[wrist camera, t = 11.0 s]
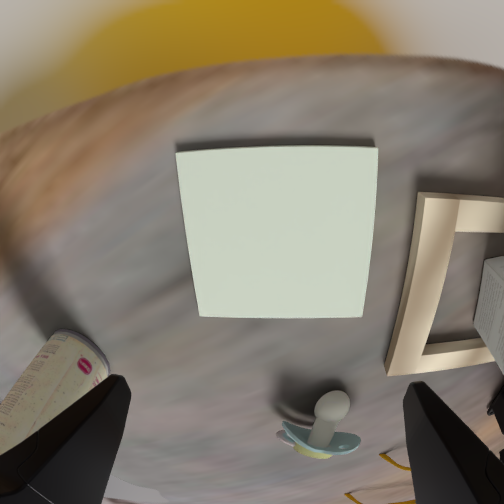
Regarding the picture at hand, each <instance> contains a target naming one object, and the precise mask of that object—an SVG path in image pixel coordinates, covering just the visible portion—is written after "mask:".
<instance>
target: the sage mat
mask: <svg viewBox="0 0 504 504" xmlns="http://www.w3.org/2000/svg"><path fill="white" fill-rule="evenodd" d="M176 161H177V170H178V178H179V186H180V194H181V201H182V209H183V216H184V223H185V230H186V236H187V243H188V250H189V256H190V262H191V268H192V274H193V280H194V286H195V292H196V297H197V303H198V309H199V314H200V316H205V317H237V318H340V317H362V314H363V308H364V301H365V295H366V288H367V281H368V273H369V265H370V257H371V248H372V238H373V228H374V217H375V204H376V188H377V168H378V148H377V147H367V146H334V145H286V146H253V147H233V148H217V149H203V150H191V151H181V152H177V153H176Z"/></svg>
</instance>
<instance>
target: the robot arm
mask: <svg viewBox="0 0 504 504" xmlns="http://www.w3.org/2000/svg"><path fill="white" fill-rule="evenodd" d="M130 400H131V391H130V388H129V386H128V384H127V382H126V380H125V378H124V377H123V376H122V375H116V374H111V375H109V376H108V377H107V378H105V379H104V380H103V381H102V382H100V383H99V384H98V385H96V386H95V387H94V388H92V389H91V390H90V391H89V392H87V393H86V394H85V395H83V396H82V397H81V398H79V399H78V400H77V401H75V402H74V403H73V404H71V405H70V406H69V407H68V408H66V409H65V410H64V411H62V412H61V413H60V414H58V415H57V416H56V417H54V418H53V419H52V420H50V421H49V422H48V423H46V424H45V425H44V426H42V427H41V428H40V429H39V430H38V431H36V432H34V433H33V434H32V435H30V436H29V437H28V438H26V439H25V440H23V441H22V442H21V443H19V444H17V445H16V446H14V447H13V448H11V449H9V450H8V451H6V452H4V453H3V454H1V455H0V504H101V503H102V499H103V496H104V493H105V489H106V486H107V482H108V480H109V476H110V473H111V470H112V467H113V464H114V461H115V458H116V454H117V451H118V448H119V445H120V442H121V439H122V436H123V432H124V428H125V423H126V418H127V414H128V409H129V405H130ZM403 410H404V421H405V432H406V444H407V451H408V456H409V462H410V467H411V473H412V479H413V486H414V492H415V499H416V504H504V449H503V450H501V451H500V452H499V453H500V460H499V459H498V458H497V457H496V456H495V455H494V453H493V452H492V451H491V450H489V448H488V447H487V446H486V445H485V444H484V443H483V442H482V441H481V440H480V439H479V438H478V437H477V436H476V435H475V434H474V432H473V431H472V430H471V429H470V428H469V427H468V426H467V425H466V424H465V423H464V422H463V421H462V420H461V419H460V418H459V417H458V416H457V415H456V414H455V413H454V412H453V411H452V410H451V409H450V408H449V407H448V406H447V405H446V404H445V403H444V402H443V401H442V399H441V398H440V397H439V396H438V395H437V394H436V393H435V392H434V391H433V390H432V389H431V388H430V387H429V386H428V385H427V384H426V383H425V382H423V381H417V382H411V383H410V385H409V387H408V389H407V392H406V394H405V396H404V399H403ZM487 414H488V415H493V414H495V417H496V419H497V422H498V424H499V427H500V429H501V432H502V434H503V435H504V386H503V388H502V389H501V391H500V393H499V394H498V396H497V397H496V399H495V400H494V402H493V403H492V405H491V406H490V408H489V409H488V411H487Z"/></svg>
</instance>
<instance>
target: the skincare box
mask: <svg viewBox="0 0 504 504" xmlns="http://www.w3.org/2000/svg"><path fill="white" fill-rule="evenodd" d="M473 325H474V327H475V328H476V330H477V331H478V333H479V335H480V336H481V338H482V339H483V341H484V343H485V344H486V346H487V348H488V349H489V351H490V353H491V354H492V356H493V358H494V359H495V361H496V363H497V364H498V366H499V368H500V370H501V371H502V373H503V375H504V256H500V257H495V258H491V259H486V260H485V261H484V268H483V275H482V281H481V287H480V293H479V299H478V304H477V309H476V314H475V319H474V323H473Z"/></svg>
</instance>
